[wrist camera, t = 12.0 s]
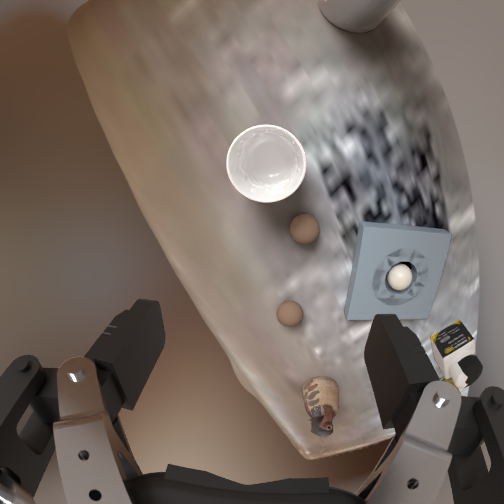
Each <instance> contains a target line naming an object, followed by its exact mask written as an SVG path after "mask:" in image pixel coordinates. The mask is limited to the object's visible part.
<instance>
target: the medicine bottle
mask: <svg viewBox="0 0 504 504" xmlns="http://www.w3.org/2000/svg"><path fill="white" fill-rule="evenodd" d="M430 338H431V343H432V348H433V353H434V358H435V360H436V362H437V363H438V365H439V367H440V369H441V371H442V373H443V375H444V377H445V379H449V378H450V377H451V378H452V380H453V381H454V383H455V385H456V387H457V388H465V387H467V386H469V385H471V384H472V383H474V382H475V381H476V380H477V379H478V377H479V376H480V375H481V373H482V369H483V366H482V364H481V362H480V361H479V359H478V358H477V356H476V355H475V340H474V338H473V337H472V335H471V334H470V333H469V331H468V330H467V329H466V327H465V326H464V325H463V323H462V322H461V321H460V320H457V321H455V322H453V323H452V324H450V325H449V326H447V327H445V328H444V329H442V330H440V331H438V332H437V333H435V334H433V335H431V337H430Z"/></svg>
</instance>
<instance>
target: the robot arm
mask: <svg viewBox="0 0 504 504" xmlns="http://www.w3.org/2000/svg"><path fill="white" fill-rule="evenodd" d="M401 1H402V0H318V3H319V7H320V10H321V12H322V14H323V15H324V16H325V17H326V18H327V20H329V21H330V22H331V23H332V24H334V25H335V26H337V27H339V28H341V29H344V30H346V31H350V32H357V33H362V32H368V31H371V30H373V29H374V28H376V27H377V26H378V25H379V24H380V23H381V22H382V20H383V19H384V18H386V17H387V16H388V15H389V13H390V12H391V11H392V10H393V9H394V8H395V7H396V6H397V5H398V4H399V3H400V2H401ZM164 344H165V331H164V325H163V320H162V314H161V308H160V304H159V302H158V301H154V300H146V299H138V300H137V301H136V302H135V304H134V305H133V306H132V307H131V309H130V310H125V311H123V312H122V313H120V314H118V315H117V316H115V318H114V319H113V320H112V322H111V323H110V324H109V327H107V328H106V329H105V330H104V333H102V334H101V335H100V337H99V338H98V339H97V341H96V342H95V343H94V344H93V346H92V347H91V348H90V350H89V351H88V352H87V353H86V355H85V356H84V357H74V358H71V359H68V360H67V361H65V362H64V363H63V364H62V365H61V366H60V367H59V368H42V366H41V364H40V362H39V360H38V359H37V358H36V357H35V356H33V355H24V356H20V357H18V358H17V359H15V360H14V361H13V362H12V363H11V364H10V366H9V367H8V368H7V369H6V371H5V372H4V373H3V374H2V376H1V377H0V504H35V501H34V498H33V497H34V495H35V493H36V490H37V488H38V486H39V483H40V481H41V479H42V476H43V474H44V472H45V470H46V467H47V465H48V463H49V461H50V459H51V457H52V455H53V453H54V451H55V449H56V452H57V459H58V464H59V469H60V474H61V479H62V483H63V488H64V492H65V496H66V499H67V503H68V504H433V503H434V501H435V499H436V497H437V495H438V493H439V490H440V488H441V485H442V483H443V481H444V478H445V476H446V473H447V471H448V474H449V479H450V483H451V488H452V494H453V499H454V504H504V390H502V389H501V388H498V387H493V386H492V387H488V388H486V389H485V390H484V391H483V392H482V394H481V395H480V397H479V398H477V397H466V396H461V395H460V393H459V391H458V390H457V389H456V387H454V386H453V385H452V384H450V383H448V382H445V381H440V379H439V377H438V375H437V373H436V371H435V369H434V367H433V365H432V363H431V361H430V359H429V358H428V356H427V354H425V350H424V348H423V346H421V343H420V341H419V339H418V337H417V335H416V334H415V333H414V332H412V331H411V330H410V329H409V328H408V327H403V326H402V324H401V322H400V320H399V319H398V317H397V315H396V314H376V315H375V316H374V319H373V322H372V326H371V329H370V332H369V336H368V339H367V342H366V346H365V351H364V359H365V364H366V367H367V370H368V374H369V377H370V381H371V384H372V388H373V392H374V395H375V399H376V403H377V407H378V410H379V414H380V418H381V422H382V426H383V429H389V428H395V432H396V434H395V435H394V437H393V438H392V440H391V442H390V444H389V445H388V447H387V449H386V451H385V452H384V454H383V456H382V457H381V459H380V461H379V462H378V464H377V465H376V467H375V469H374V470H373V472H372V473H371V475H370V476H369V478H368V479H367V480H366V482H365V483H364V484H363V485H362V486H361V488H360V489H359V490H358V492H357V493H356V494H353V493H351V492H348V491H346V490H343V489H340V488H336V487H330V486H329V480H328V478H302V479H291V478H289V479H285V480H278V481H273V482H267V483H260V484H253V485H244V484H240V483H237V482H234V481H231V480H228V479H225V478H222V477H219V476H217V475H214V474H212V473H209V472H206V471H201V470H196V469H190V468H185V467H181V466H175V465H171V464H168V466H167V469H166V472H156V473H148V474H143V473H142V472H141V470H140V468H139V466H138V464H137V462H136V460H135V458H134V456H133V453H132V451H131V448H130V445H129V443H128V440H127V437H126V434H125V431H124V429H123V425H122V422H121V419H120V417H119V415H118V413H119V411H120V409H121V407H122V408H125V409H129V410H133V409H134V407H135V405H136V402H137V400H138V398H139V396H140V394H141V392H142V390H143V388H144V386H145V384H146V382H147V380H148V378H149V376H150V374H151V372H152V370H153V368H154V366H155V364H156V362H157V360H158V358H159V356H160V354H161V352H162V350H163V348H164ZM28 406H29V407H30V408H31V410H32V411H33V413H32V415H31V416H30V418H29V420H28V421H27V423H26V425H25V427H24V428H23V430H22V432H21V433H20V435H19V436H18V434H17V430H16V427H17V424H18V422H19V420H20V418H21V417H22V415H23V414H24V412H25V410H26V409H27V407H28ZM484 442H485V444H486V447H487V450H488V453H489V456H490V459H491V468H490V471H489V473H488V469H487V466H486V462H485V459H484V456H483V453H482V450H481V447H480V446H481V445H482V444H483V443H484Z"/></svg>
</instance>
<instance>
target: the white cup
mask: <svg viewBox="0 0 504 504" xmlns="http://www.w3.org/2000/svg"><path fill="white" fill-rule="evenodd" d="M227 172H228V175H229V178H230V180H231V182H232V184H233V185H234V187H235V188H236V189H237V190H238V191H239V192H240V193H241V194H242V195H244V196H245V197H247V198H249V199H251V200H254V201H257V202H264V203H270V202H276V201H280V200H282V199H285V198H287V197H288V196H290V195H291V194H292V193H294V192H295V191H296V190H297V188H298V187H299V186H300V184H301V183H302V181H303V179H304V176H305V172H306V156H305V152H304V150H303V147H302V146H301V144H300V142H299V141H298V140H297V138H296V137H295V136H294V135H292V134H291V133H290V132H288V131H287V130H285V129H283V128H281V127H278V126H273V125H259V126H254V127H251V128H249V129H247V130H245V131H244V132H242V133H241V134H240V135H239V136H238V137H237V138H236V139H235V140H234V141H233V143H232V145H231V146H230V149H229V151H228V155H227Z"/></svg>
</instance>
